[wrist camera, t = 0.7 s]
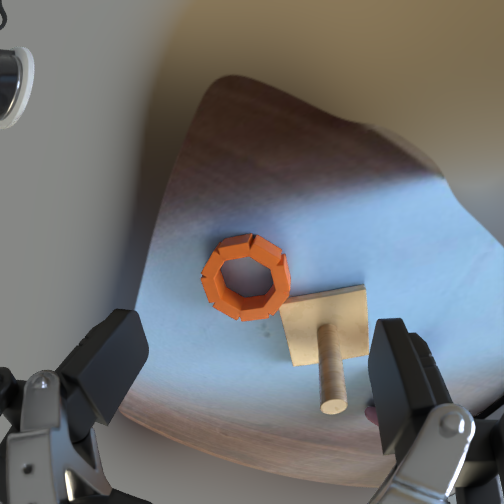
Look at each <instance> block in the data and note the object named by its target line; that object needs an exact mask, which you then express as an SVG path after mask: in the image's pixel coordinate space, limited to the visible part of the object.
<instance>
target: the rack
mask: <svg viewBox="0 0 504 504" xmlns="http://www.w3.org/2000/svg"><path fill="white" fill-rule="evenodd" d="M279 311H280V315H281V319H282V323H283V327H284V331H285V335H286V339H287V343H288V347H289V351H290V355H291V359H292V363H293V366H302V365H309V364H317V363H319V386H320V409H321V411H322V412H323V413H326V414H338V413H340V412H342V411H344V410H345V409H346V408H347V405H348V404H347V395H346V386H345V378H344V370H343V363H342V359H348V358H354V357H359V356H364V355H369V335H368V312H367V296H366V288H365V286H364V284H362V285H357V286H352V287H346V288H341V289H336V290H330V291H324V292H319V293H313V294H307V295H301V296H295V297H289V298H287V299H286V300H285V302H284V303H283V304H282V305H281V307H280V308H279Z"/></svg>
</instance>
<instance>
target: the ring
mask: <svg viewBox="0 0 504 504" xmlns="http://www.w3.org/2000/svg"><path fill="white" fill-rule="evenodd" d="M281 252H282V249H280V248H279V247H277V246H275V245H274V244H272V243H271V242H269V241H267V240H266V239H264V238H262V237H261V236H259V235H256V237H255V238H254V239H253V236H252V233H250V234H245V235H240V236H235V237H230V238H225V239H224V240H223V241H222V243H221V242H219V244H218V245H217V247H216V248H215V250H214V251H213V253H212V254H211V256H210V258H209V260H208V261H207V263H206V265H205V267H204V268H203V270H202V272H201V274H202V277H201V278H200V279H201V282H202V284H203V287H204V290H205V293H206V295H207V298H208V301H209V303H213V302H214V305H213V307H214V308H216V309H217V310H219V311H221V312H223V313H224V314H226V315H228V316H230V317H231V318H233V319H235V320H237V319H238V318H239V317H240V318H241V321H251V320H259V319H266V318H269V314H271V315H272V316H273V315H274V314H275V313H276V312H277V310H278V309H279V308H280V307H281V305H282V304H283V303H284V302H285V300H286V299H287V298H288V297H289V291H290V284H291V277H290V273H289V268H288V264H287V259H286V255H285V254H281ZM244 257H251V258H252V259H254V260H256V261H257V262H259V263H261V264H262V265H264V266H266V267H267V268H269V269H270V271H271V275H272V278H273V282H274V284H273V285H272V287H271V288H270V289H269V291H268V292H267V293H266V295H260V296H253V297H246V298H244V297H243V296H241V295H239V294H237V293H236V292H234V291H232V290H231V289H229V288H227V287H226V285H225V282H224V279H223V276H222V272H221V269H220V268H221V267H222V265H223V263H224V262H225V261H227V260H232V259H238V258H244Z"/></svg>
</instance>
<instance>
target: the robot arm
mask: <svg viewBox="0 0 504 504" xmlns="http://www.w3.org/2000/svg"><path fill="white" fill-rule="evenodd" d="M0 14H1V16H2V18H3V21H2V24H1V25H0V30H1V29H2V28H4V26H5V24H6V22H7V15H6V13H5V11H4V9H3V7H2V1H1V0H0ZM22 77H23V68H22V62H21V60H20V58H19V57H18V56H16V55H15V50H1V49H0V121H2V120H4V119H6V118H7V117H8V116H9V114H10V113H11V112H12V110H13V108H14V106H15V104H16V102H17V99H18V96H19V93H20V89H21V85H22ZM148 354H149V346H148V342H147V339H146V336H145V333H144V330H143V327H142V324H141V320H140V317H139V314H138V313H137V312H136V311H134V310H125V309H115V310H114V311H113V312H112V313H111V314H110V315H109V316H108V317H107V318H106V319H105V320H104V321H103V322H101V323H100V324H98V325H96V326H95V327H93V328H92V329H91V330H90V331H89V333H88V334H87V335H86V336H85V338H84V339H82V340H81V341H80V343H79V346H76V347H75V348H74V350H73V351H72V352H71V353H70V354H69V355H68V356H67V357H66V359H65V360H64V361H63V362H62V363H61V365H60V366H59V367H58V368H57V369H56V370H55V371H52V370H42V371H40V372H37V373H35V374H33V375H32V376H31V377H30V378H29V379H28V380H27V381H24V380H16V379H15V378H14V376H13V374H12V373H11V371H10V370H9V369H8V368H6V367H0V416H1V414H4V416H5V417H6V418H7V420H8V421H9V422H10V423H11V424H12V427H11V428H10V430H9V431H8V433H7V434H6V436H5V437H4V439H3V440H2V442H1V444H0V504H152V503H151V502H149V501H146V500H143V499H140V498H137V497H135V496H132V495H129V494H126V493H123V492H121V491H119V490H116V489H114V488H112V487H111V486H110V484H109V482H108V481H107V479H106V477H105V475H104V472H103V468H102V464H101V460H100V455H99V450H98V446H97V440H96V435H95V430H94V429H93V427H92V426H93V424H94V422H98V423H100V424H103V425H106V426H108V424H109V423H110V421H111V419H112V418H113V416H114V414H115V412H116V411H117V409H118V407H119V406H120V404H121V402H122V401H123V399H124V397H125V395H126V394H127V392H128V390H129V389H130V387H131V385H132V384H133V382H134V380H135V379H136V377H137V375H138V374H139V372H140V370H141V369H142V367H143V366H144V364H145V362H146V360H147V358H148ZM368 373H369V378H370V382H371V387H372V392H373V397H374V402H375V408H376V413H377V419H378V425H379V431H380V437H381V443H382V450H383V455H390V454H395V457H396V464H395V465H394V466H393V468H392V470H391V471H390V473H389V474H388V476H387V477H386V478H385V480H384V481H383V483H382V484H381V486H380V487H379V488H378V490H377V491H376V493H375V494H374V495H373V497H372V498H371V499H370V501H369V502H368V503H367V504H450V502H448V500H447V499H448V496H449V494H450V491H451V489H452V487H455V493H456V501H457V504H504V502H503V496H504V413H503V415H502V416H501V417H500V419H499V420H486V419H473V417H472V415H471V414H470V412H469V411H468V410H467V409H465V408H464V407H462V406H460V405H458V404H453V402H452V399H451V397H450V395H449V392H448V390H447V387H446V385H445V383H444V380H443V378H442V376H441V373H440V371H439V369H438V367H437V366H436V362H435V360H434V358H433V356H432V354H431V351H430V349H429V347H428V345H427V343H426V342H425V341H424V340H423V339H422V338H421V337H420V336H419V335H418V334H416V333H408V331H407V329H406V326H405V324H404V322H403V320H402V319H401V318H388V319H378V320H377V322H376V326H375V331H374V335H373V340H372V344H371V349H370V353H369V358H368ZM498 474H499V476H500V481H501V485H500V481H499V476H498ZM501 486H502V490H501ZM502 491H503V496H502Z"/></svg>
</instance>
